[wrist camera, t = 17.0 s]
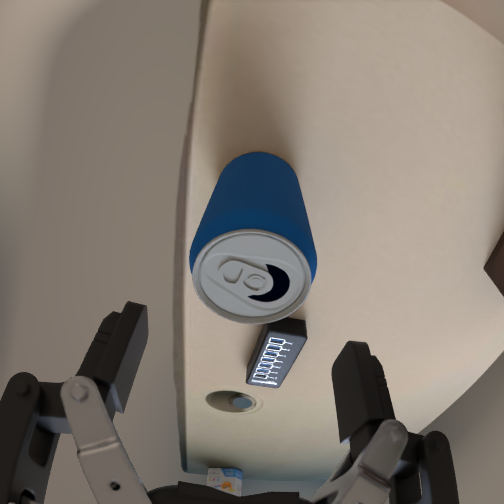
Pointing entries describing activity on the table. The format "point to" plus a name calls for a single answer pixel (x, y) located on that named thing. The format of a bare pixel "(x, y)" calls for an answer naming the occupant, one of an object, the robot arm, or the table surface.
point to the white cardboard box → (225, 480)
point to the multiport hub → (276, 352)
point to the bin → (497, 265)
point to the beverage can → (254, 243)
